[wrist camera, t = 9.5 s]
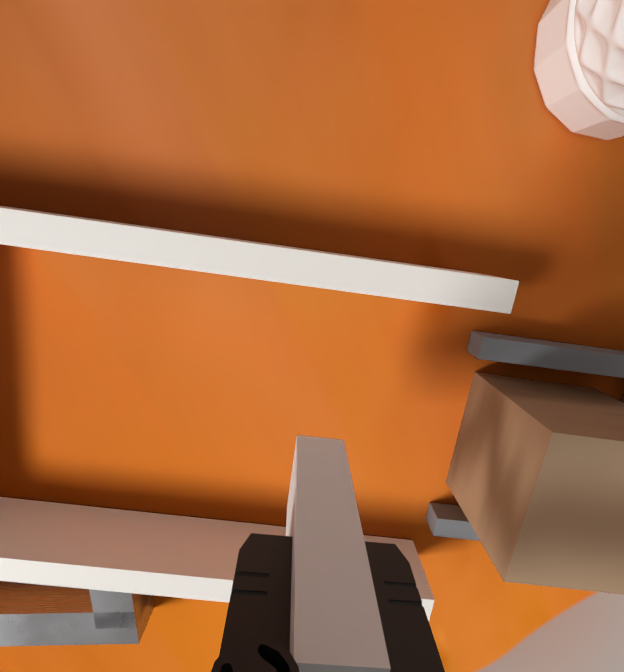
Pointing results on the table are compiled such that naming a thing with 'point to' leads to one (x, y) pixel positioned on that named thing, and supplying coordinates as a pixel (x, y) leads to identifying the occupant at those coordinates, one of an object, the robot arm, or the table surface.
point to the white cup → (583, 65)
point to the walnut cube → (544, 481)
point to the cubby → (172, 530)
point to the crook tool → (70, 615)
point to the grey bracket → (532, 353)
